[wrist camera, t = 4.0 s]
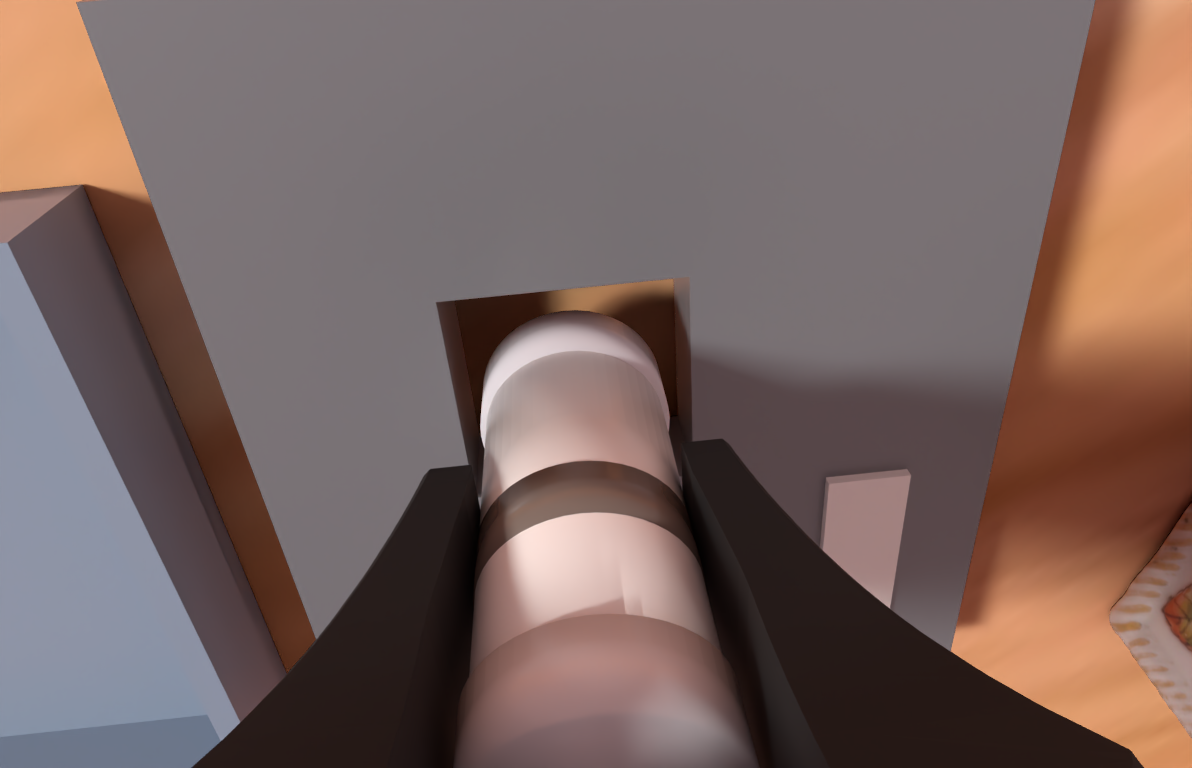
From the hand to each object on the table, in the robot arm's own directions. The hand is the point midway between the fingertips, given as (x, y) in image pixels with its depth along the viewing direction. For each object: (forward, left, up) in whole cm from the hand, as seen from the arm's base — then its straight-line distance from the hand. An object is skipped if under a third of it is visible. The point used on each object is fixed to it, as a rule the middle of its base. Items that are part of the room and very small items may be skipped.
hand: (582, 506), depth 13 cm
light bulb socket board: (-1, -1, -5) cm, 5 cm away
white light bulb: (0, 0, -3) cm, 3 cm away
